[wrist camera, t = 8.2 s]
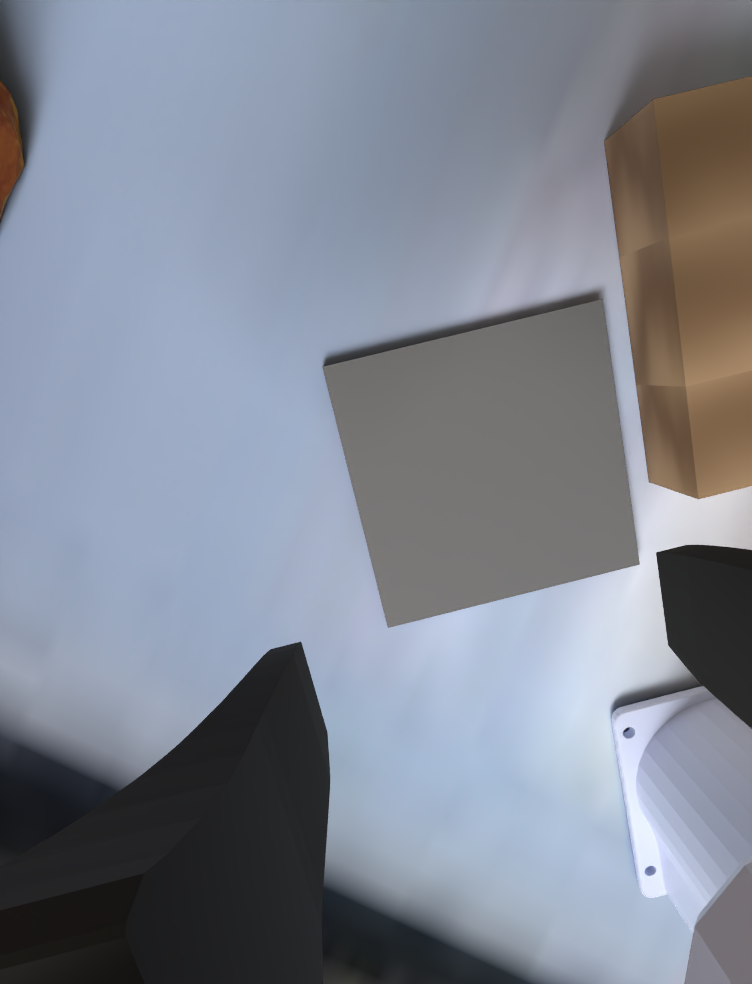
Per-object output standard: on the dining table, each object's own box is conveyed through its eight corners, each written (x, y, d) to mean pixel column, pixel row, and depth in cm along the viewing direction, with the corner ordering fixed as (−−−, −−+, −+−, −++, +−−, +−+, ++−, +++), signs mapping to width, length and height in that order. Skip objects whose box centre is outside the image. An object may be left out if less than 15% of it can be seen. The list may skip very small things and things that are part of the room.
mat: (634, 561, 22) (639, 564, 22) (387, 623, 22) (388, 627, 22) (597, 300, 20) (602, 299, 20) (322, 366, 20) (322, 366, 19)
